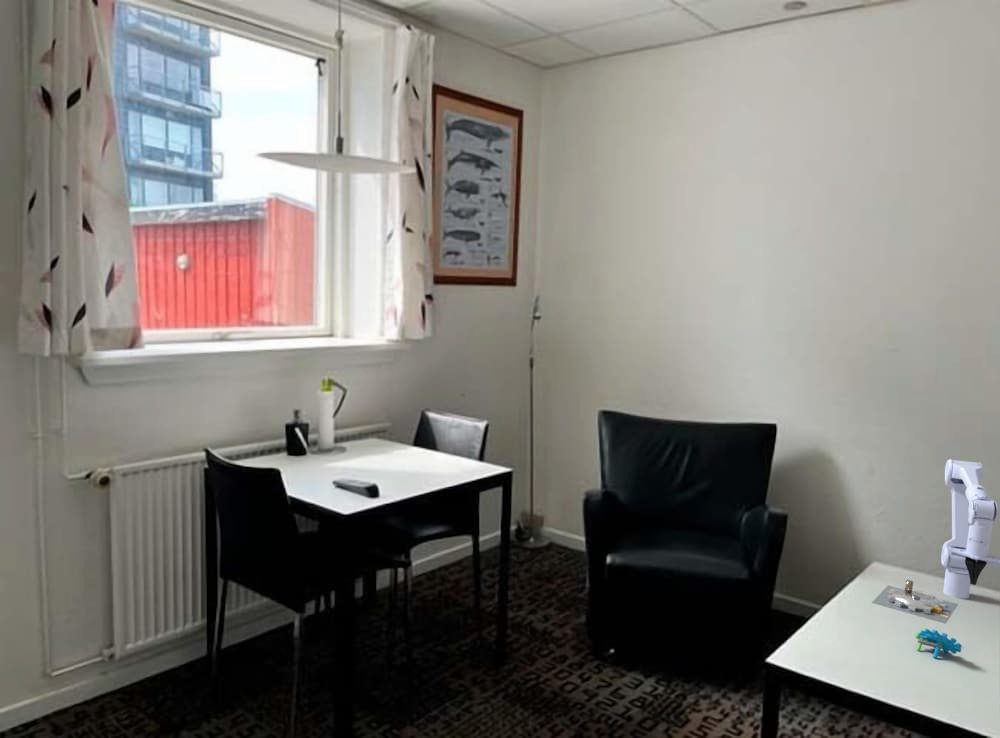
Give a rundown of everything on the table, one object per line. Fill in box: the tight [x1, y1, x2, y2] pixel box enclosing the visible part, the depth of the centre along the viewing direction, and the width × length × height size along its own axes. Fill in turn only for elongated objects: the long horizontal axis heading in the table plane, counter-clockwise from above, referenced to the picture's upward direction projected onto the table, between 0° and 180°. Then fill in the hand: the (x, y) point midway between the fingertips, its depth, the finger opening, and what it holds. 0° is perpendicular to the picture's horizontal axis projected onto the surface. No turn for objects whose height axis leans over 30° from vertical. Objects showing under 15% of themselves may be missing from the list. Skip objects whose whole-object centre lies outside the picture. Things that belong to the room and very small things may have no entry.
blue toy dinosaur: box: [914, 628, 962, 660], centre depth 205 cm, size 11×6×10 cm
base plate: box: [871, 585, 959, 624], centre depth 238 cm, size 20×20×1 cm
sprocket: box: [886, 579, 945, 614], centre depth 237 cm, size 16×16×5 cm
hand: (973, 583), depth 231 cm, fingers closed
